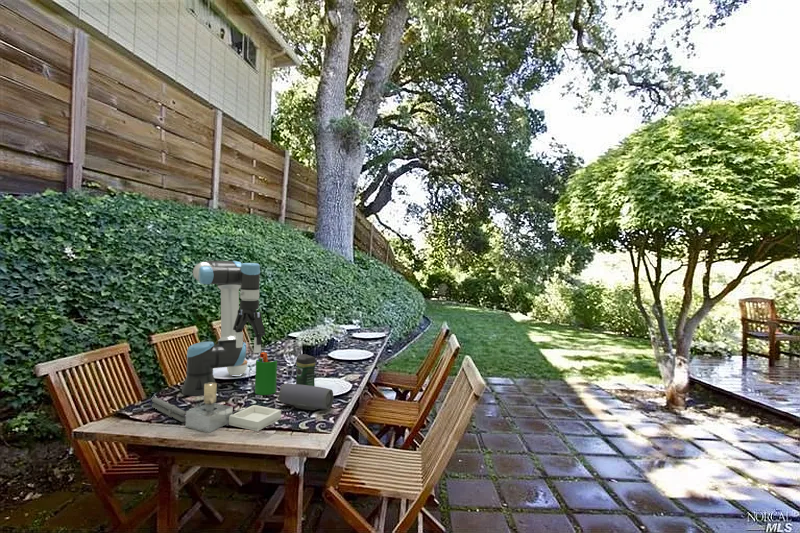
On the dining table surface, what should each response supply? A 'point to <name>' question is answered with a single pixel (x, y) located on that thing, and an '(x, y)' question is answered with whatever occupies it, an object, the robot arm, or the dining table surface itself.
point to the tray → (255, 417)
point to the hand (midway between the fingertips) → (248, 349)
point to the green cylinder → (265, 375)
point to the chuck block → (208, 417)
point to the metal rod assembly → (169, 409)
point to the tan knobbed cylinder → (210, 395)
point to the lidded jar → (237, 369)
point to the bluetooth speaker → (306, 396)
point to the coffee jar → (305, 370)
